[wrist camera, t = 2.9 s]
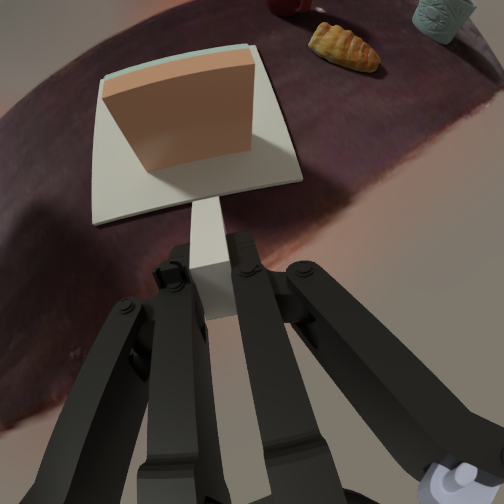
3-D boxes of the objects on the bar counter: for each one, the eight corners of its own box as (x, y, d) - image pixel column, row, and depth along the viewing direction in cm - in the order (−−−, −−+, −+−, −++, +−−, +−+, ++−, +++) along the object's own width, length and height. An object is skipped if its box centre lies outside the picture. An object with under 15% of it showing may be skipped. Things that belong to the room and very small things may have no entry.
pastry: (380, 60, 31) (389, 41, 28) (370, 84, 30) (380, 64, 26) (319, 33, 32) (324, 13, 28) (302, 54, 31) (307, 33, 27)
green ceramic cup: (414, 33, 34) (438, -13, 22) (403, 9, 36) (421, -32, 24) (458, 54, 34) (485, 15, 22) (443, 27, 36) (465, -9, 24)
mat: (95, 225, 25) (92, 224, 25) (102, 82, 29) (100, 79, 29) (302, 181, 26) (303, 178, 26) (255, 48, 30) (255, 45, 30)
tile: (146, 172, 26) (101, 98, 15) (145, 151, 26) (104, 75, 15) (251, 150, 26) (255, 63, 16) (245, 130, 27) (247, 43, 16)
